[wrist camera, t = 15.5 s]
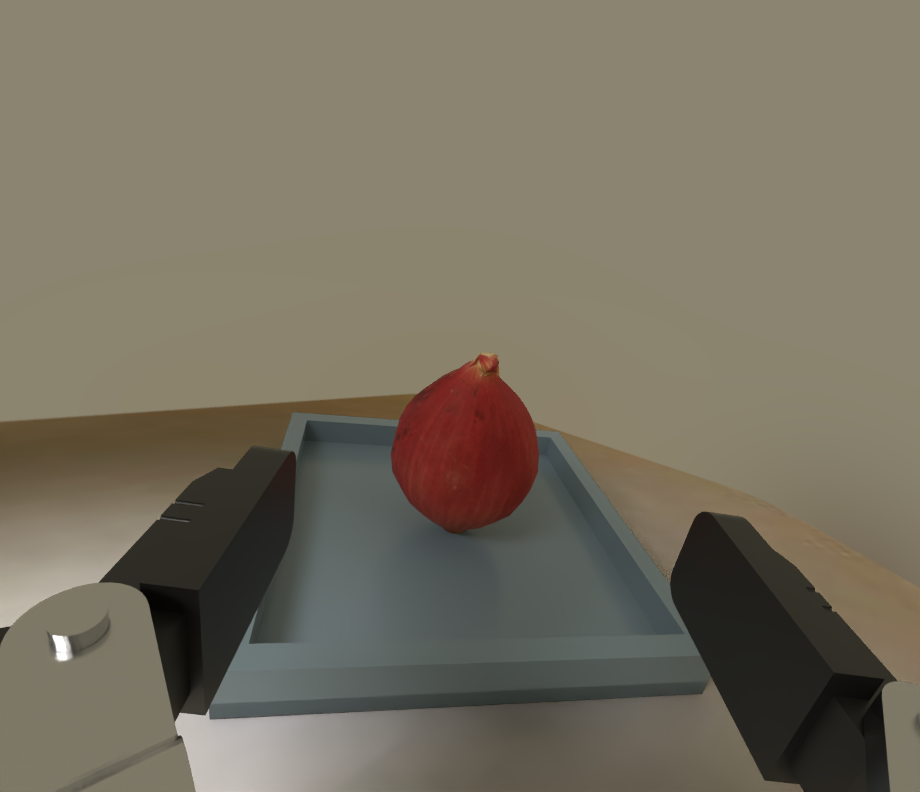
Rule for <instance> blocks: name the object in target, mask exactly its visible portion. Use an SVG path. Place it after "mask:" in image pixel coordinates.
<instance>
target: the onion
mask: <svg viewBox="0 0 920 792" xmlns="http://www.w3.org/2000/svg"><path fill="white" fill-rule="evenodd" d="M498 364H499V361H498V355H495V354H493V353H492V352H489V353H480V354H479V355H478V356H477V357H476V358H475V359H474V360H472V361H470V362H468V363H466V364H465V365H463V366H462V367H461V368H459V369H456V370H454V371H451V372H450V373H448V374H446V375H444V376H442V377H441V378H439V379H438V380H437V381H435V382H433V383H432V384H431V385H429V386H428V387H426V388H425V389H423V390H422V391H421V392H420V393H418V394H417V395H416V396H415V397H414V398H413V399H412V400H411V402H410V403H409V404H408V405H407V406H406V408H405V410H404V412H403V414H402V416H401V418H400V419H399V423H398V426H397V430H396V433H395V437H394V442H393V446H392V450H391V462H392V472H393V474H394V476H395V478H396V480H397V482H398V484H399V485H400V487H401V489H402V491H403V493H404V494H405V496H406V498H407V500H408V501H409V503H410V504H411V505H412V506H413V507H415V508H416V509H417V510H418V511H419V512H420V513H421V514H423V515H424V516H425V517H427V518H428V519H429V520H431V521H432V522H434V523H436V524H437V525H439V526H441V527H442V528H443V529H444V530H445V531H447V532H450V533H456V534H459V533H462V532H464V531H467V530H470V529H477V528H482V527H485V526H487V525H490V524H492V523H495V522H497V521H499V520H501V519H503V518H505V517H508V516H510V515H511V514H512V513H513V511H514V510H515V509H516V508H517V507H518V506H519V505H520V504H521V503H522V502H523V500H524V499H525V497H526V496H527V494H528V493H529V492H530V490H531V488H532V485H533V483H534V480H535V478H536V475H537V473H538V463H539V449H538V441H537V435H536V429H535V427H534V424H533V421H532V418H531V416H530V414H529V412H528V411H527V408H526V407H525V405H524V404H523V402H522V401H521V399H520V398H519V397H518V396H517V394H516V393H515V392H513V390H512V389H511V388H510V387H509V386H508V385H507V384H506V383H505V382H504V381H502V379H501V378H500V377H499V366H498Z"/></svg>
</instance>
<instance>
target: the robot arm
mask: <svg viewBox="0 0 920 792" xmlns="http://www.w3.org/2000/svg"><path fill="white" fill-rule="evenodd" d="M295 479H296V455H295V453H294V452H293V451H287V450H280V449H273V448H266V447H259V446H253V447H251V448H250V449H249V450H248V452H247V453H246V454H245V455H244V456H243V458H242V459H241V460H240V461H239V463H238V464H237V465H236V466H235V467H234V469H233V470H232V469H225V468H217V469H215V470H213V471H211V472H209V473H208V474H206V475H204V476H202V477H200V478H198V479H196V480H194V481H193V482H192V483H191V484H190V485H189V486H188V487H187V488H186V489H185V490H184V491H183V492H182V493H181V495H180V496H179V497H178V498H177V499H176V501H175V504H171V505H170V506H169V507H168V509H167V510H166V511H165V512H164V513H163V514H162V515H161V518H160V520H156V521H155V522H154V524H153V525H152V526H151V527H150V528H149V529H148V530H147V531H146V532H145V533H144V534H143V535H142V536H141V538H140V539H139V540H138V541H137V542H136V543H135V544H134V545H133V546H132V547H131V548H130V549H129V550H128V552H127V553H126V554H125V555H124V556H123V557H122V558H121V559H120V560H119V561H118V562H117V563H116V564H115V565H114V567H113V568H112V569H111V570H110V571H109V572H108V573H107V574H106V575H105V576H104V577H103V578H102V579H101V581H100V582H99V583H94V584H87V585H83V586H78V587H75V588H72V589H69V590H65V591H63V592H60V593H58V594H56V595H53V596H51V597H49V598H47V599H46V600H44V601H42V602H40V603H39V604H37V605H35V606H34V607H32V608H31V609H29V610H28V611H27V612H26V613H24V614H23V615H22V616H21V617H20V618H19V619H18V620H17V621H16V622H15V623H14V624H13V625H12V626H10V627H4V628H0V792H196V791H195V787H194V782H193V778H192V773H191V769H190V765H189V760H188V756H187V752H186V748H185V745H184V742H183V739H182V737H181V736H178V735H177V731H176V727H175V721H176V719H177V717H178V715H179V713H188V714H197V715H206V713H207V711H208V709H209V707H210V705H211V703H212V701H213V699H214V697H215V695H216V693H217V691H218V689H219V687H220V684H221V682H222V680H223V678H224V676H225V674H226V672H227V670H228V668H229V666H230V664H231V662H232V660H233V658H234V656H235V654H236V652H237V650H238V648H239V646H240V644H241V642H242V640H243V638H244V636H245V634H246V631H247V629H248V627H249V625H250V623H251V621H252V619H253V617H254V615H255V613H256V611H257V609H258V607H259V605H260V603H261V601H262V599H263V597H264V595H265V593H266V591H267V589H268V587H269V585H270V583H271V581H272V578H273V576H274V574H275V572H276V570H277V568H278V566H279V564H280V562H281V560H282V558H283V556H284V554H285V552H286V550H287V547H288V544H289V541H290V537H291V533H292V528H293V522H294V503H295ZM670 587H671V596H672V600H673V603H674V605H675V607H676V609H677V611H678V613H679V615H680V617H681V619H682V621H683V622H684V624H685V626H686V628H687V630H688V632H689V634H690V636H691V638H692V640H693V642H694V644H695V646H696V648H697V650H698V652H699V654H700V656H701V657H702V659H703V661H704V663H705V665H706V667H707V669H708V671H709V673H710V675H711V677H712V679H713V681H714V683H715V685H716V687H717V689H718V691H719V693H720V694H721V696H722V698H723V700H724V702H725V704H726V706H727V708H728V710H729V712H730V714H731V716H732V718H733V720H734V722H735V724H736V726H737V728H738V730H739V731H740V733H741V735H742V737H743V739H744V741H745V743H746V745H747V747H748V749H749V751H750V753H751V755H752V757H753V759H754V761H755V763H756V765H757V766H758V768H759V770H760V772H761V774H762V776H763V778H764V780H765V781H774V782H783V783H792V784H800V786H801V787H802V789H803V791H804V792H920V686H918V685H915V684H912V683H907V682H901V681H897V680H896V679H895V678H894V676H893V675H892V674H891V673H890V672H889V671H888V670H887V669H886V667H885V666H884V665H883V664H882V663H881V662H880V661H879V660H878V658H877V657H876V656H875V655H874V654H873V653H872V652H871V651H870V649H869V648H868V647H867V646H866V645H865V644H864V643H863V642H862V640H861V639H860V638H859V637H858V636H857V635H856V634H855V633H854V632H853V630H852V629H851V628H850V627H849V626H848V625H847V624H846V623H845V621H844V620H843V619H842V618H841V617H840V616H839V615H838V614H837V612H833V611H832V610H831V608H832V607H831V606H830V605H829V603H828V602H827V601H826V600H825V599H824V598H823V597H822V596H821V594H820V593H817V592H815V588H814V587H813V585H812V584H811V583H810V582H809V581H808V580H807V579H806V578H805V576H804V575H803V574H802V573H801V572H800V571H799V570H798V569H797V567H796V566H794V565H793V564H792V563H790V562H789V561H788V560H786V559H785V558H784V557H783V556H781V555H780V554H779V553H777V552H776V551H775V550H773V549H772V548H771V547H770V546H769V545H768V544H767V542H766V541H765V540H764V539H763V538H762V537H761V535H760V534H759V533H758V532H757V531H756V530H755V529H754V527H753V526H752V525H751V524H750V523H749V522H748V521H747V520H746V519H745V518H743V517H739V516H732V515H725V514H718V513H711V512H701V513H699V514H698V515H697V516H696V517H695V519H694V521H693V523H692V525H691V528H690V530H689V533H688V535H687V537H686V540H685V542H684V545H683V547H682V549H681V552H680V554H679V556H678V559H677V561H676V564H675V566H674V568H673V571H672V575H671V582H670Z"/></svg>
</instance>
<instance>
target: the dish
mask: <svg viewBox="0 0 920 792" xmlns="http://www.w3.org/2000/svg"><path fill="white" fill-rule="evenodd" d="M398 423H399V420H392V419H378V418H365V417H351V416H338V415H324V414H311V413H297V412H293V413H292V416H291V419H290V423H289V426H288V429H287V432H286V435H285V438H284V441H283V444H282V447H281V450H287V451H293V452H294V453H295V455H296V479H295V503H294V522H293V528H292V533H291V537H290V541H289V544H288V547H287V550H286V552H285V554H284V556H283V558H282V560H281V562H280V564H279V566H278V568H277V570H276V572H275V574H274V576H273V578H272V581H271V583H270V585H269V587H268V589H267V591H266V593H265V595H264V597H263V599H262V601H261V603H260V605H259V607H258V609H257V611H256V613H255V615H254V617H253V619H252V621H251V623H250V625H249V627H248V629H247V631H246V634H245V636H244V638H243V640H242V642H241V644H240V646H239V648H238V650H237V652H236V654H235V656H234V658H233V660H232V662H231V664H230V666H229V668H228V670H227V672H226V674H225V676H224V678H223V680H222V682H221V684H220V687H219V689H218V691H217V693H216V695H215V697H214V699H213V701H212V703H211V705H210V707H209V714H210V719H226V718H245V717H264V716H284V715H303V714H322V713H341V712H360V711H379V710H399V709H418V708H437V707H456V706H475V705H494V704H514V703H533V702H552V701H571V700H590V699H609V698H629V697H648V696H667V695H686V694H702V692H703V690H704V688H705V686H706V684H707V682H708V680H709V679H710V677H711V675H710V673H709V671H708V669H707V667H706V665H705V663H704V661H703V659H702V657H701V656H700V654H699V652H698V650H697V648H696V646H695V644H694V642H693V640H692V638H691V636H690V634H689V632H688V630H687V628H686V626H685V624H684V622H683V621H682V619H681V617H680V615H679V613H678V611H677V609H676V607H675V605H674V603H673V600H672V596H671V587H670V584H669V582H668V581H667V579H666V578H665V577H664V575H663V574H662V573H661V571H660V570H659V568H658V567H657V566H656V564H655V563H654V562H653V560H652V559H651V558H650V556H649V555H648V553H647V552H646V551H645V549H644V548H643V547H642V545H641V544H640V542H639V541H638V540H637V538H636V537H635V536H634V534H633V533H632V532H631V530H630V529H629V527H628V526H627V525H626V523H625V522H624V521H623V519H622V518H621V516H620V515H619V514H618V512H617V511H616V510H615V508H614V507H613V505H612V504H611V503H610V501H609V500H608V499H607V497H606V496H605V495H604V493H603V492H602V490H601V489H600V488H599V486H598V485H597V484H596V482H595V481H594V479H593V478H592V477H591V475H590V474H589V473H588V471H587V470H586V469H585V467H584V466H583V464H582V463H581V462H580V460H579V459H578V458H577V456H576V455H575V453H574V452H573V451H572V449H571V448H570V447H569V445H568V444H567V443H566V441H565V440H564V438H563V437H562V436H561V434H560V433H559V432H555V431H541V430H536V435H537V441H538V449H539V463H538V473H537V475H536V478H535V480H534V483H533V485H532V488H531V490H530V492H529V493H528V494H527V496H526V497H525V499H524V500H523V502H522V503H521V504H520V505H519V506H518V507H517V508H516V509H515V510H514V511H513V513H512V514H511V515H510V516H508V517H505V518H503V519H501V520H499V521H497V522H495V523H492V524H490V525H487V526H485V527H482V528H477V529H470V530H467V531H464V532H462V533H459V534H456V533H450V532H447V531H445V530H444V529H443V528H442V527H441V526H439V525H437V524H436V523H434V522H432V521H431V520H429V519H428V518H427V517H425V516H424V515H423V514H421V513H420V512H419V511H418V510H417V509H416V508H415V507H413V506H412V505H411V504H410V503H409V501H408V500H407V498H406V496H405V494H404V493H403V491H402V489H401V487H400V485H399V484H398V482H397V480H396V478H395V476H394V474H393V472H392V462H391V450H392V446H393V442H394V437H395V433H396V430H397V426H398Z"/></svg>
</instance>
